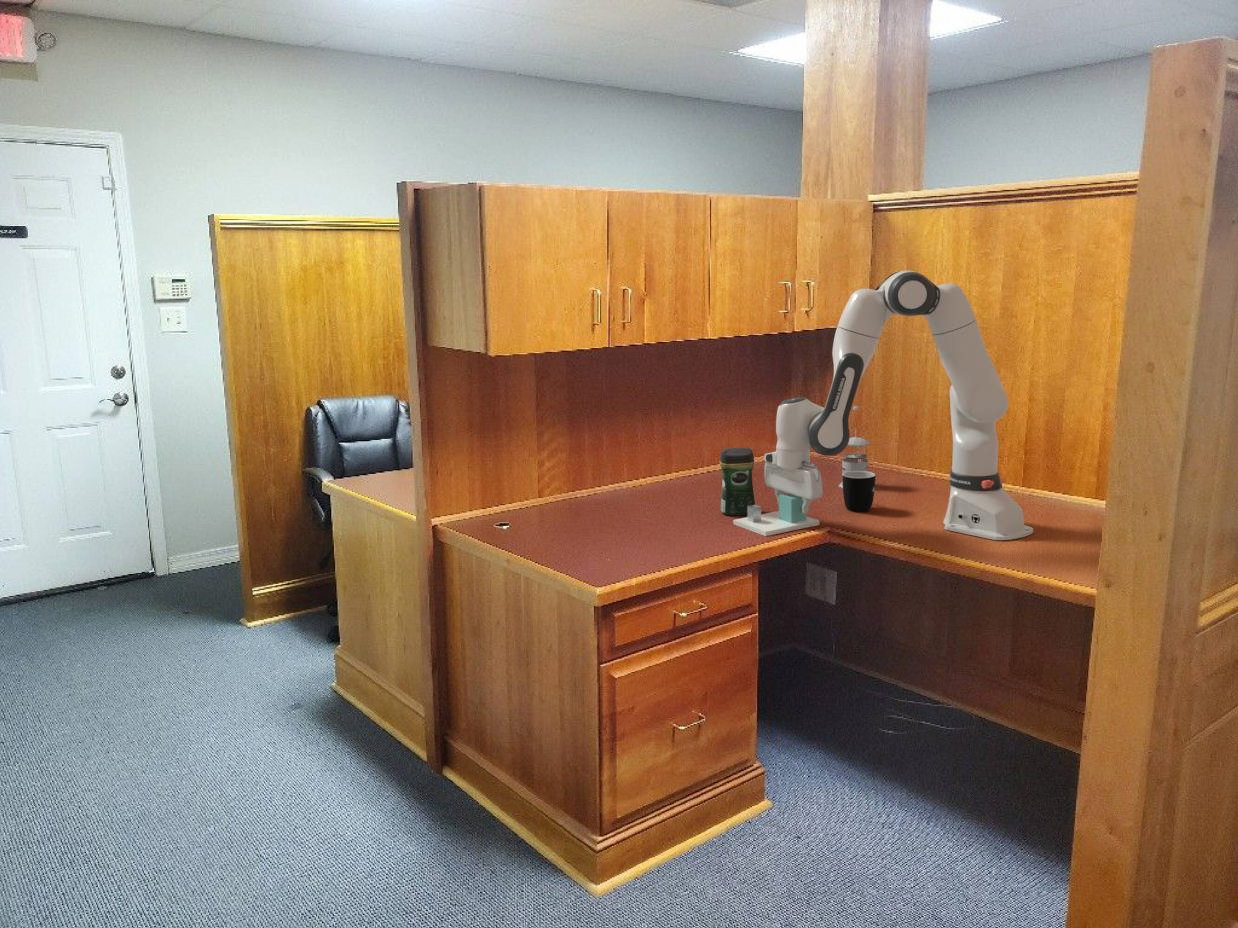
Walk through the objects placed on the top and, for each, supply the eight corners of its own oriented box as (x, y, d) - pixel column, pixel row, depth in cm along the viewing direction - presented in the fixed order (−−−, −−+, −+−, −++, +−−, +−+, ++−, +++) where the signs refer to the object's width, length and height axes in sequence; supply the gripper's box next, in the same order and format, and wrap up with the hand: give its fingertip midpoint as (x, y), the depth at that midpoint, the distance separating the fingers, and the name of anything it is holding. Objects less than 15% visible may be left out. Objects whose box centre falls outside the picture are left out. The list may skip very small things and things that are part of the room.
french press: (833, 487, 298) (834, 407, 293) (847, 480, 308) (848, 401, 303) (864, 491, 293) (866, 409, 288) (877, 483, 303) (879, 403, 297)
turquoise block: (806, 520, 260) (806, 496, 259) (791, 523, 258) (791, 499, 256) (794, 515, 264) (794, 492, 263) (778, 518, 262) (778, 495, 261)
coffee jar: (751, 508, 278) (751, 444, 275) (757, 515, 271) (757, 450, 267) (718, 509, 278) (717, 446, 274) (723, 517, 270) (722, 451, 266)
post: (761, 521, 261) (761, 506, 260) (753, 522, 259) (753, 508, 258) (755, 518, 263) (755, 504, 262) (747, 520, 262) (747, 506, 261)
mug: (877, 513, 269) (878, 477, 267) (844, 513, 269) (844, 478, 267) (869, 502, 280) (870, 468, 278) (838, 502, 281) (838, 468, 279)
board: (819, 524, 259) (819, 520, 259) (765, 536, 251) (765, 531, 251) (785, 513, 271) (785, 509, 271) (733, 524, 263) (733, 519, 263)
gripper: (828, 463, 250) (828, 515, 253) (778, 451, 268) (778, 499, 271) (809, 466, 247) (809, 519, 250) (760, 454, 265) (760, 503, 268)
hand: (792, 509), depth 260 cm, fingers open, 8 cm apart
